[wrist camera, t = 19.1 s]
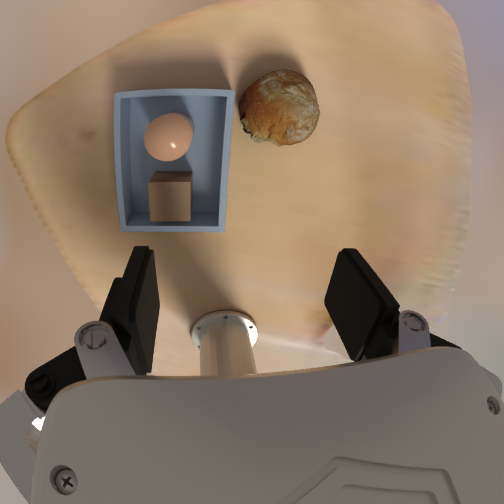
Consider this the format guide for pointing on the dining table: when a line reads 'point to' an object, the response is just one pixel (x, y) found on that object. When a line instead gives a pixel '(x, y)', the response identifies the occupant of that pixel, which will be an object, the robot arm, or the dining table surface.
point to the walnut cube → (170, 195)
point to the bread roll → (280, 108)
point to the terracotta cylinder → (169, 136)
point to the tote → (194, 159)
